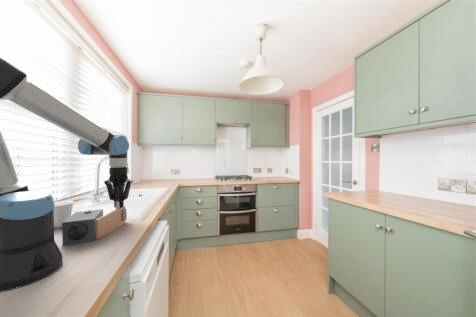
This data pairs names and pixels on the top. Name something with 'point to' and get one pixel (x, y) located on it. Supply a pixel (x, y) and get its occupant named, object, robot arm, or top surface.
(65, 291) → the top surface
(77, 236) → the camera housing
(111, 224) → the door
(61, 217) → the cup
